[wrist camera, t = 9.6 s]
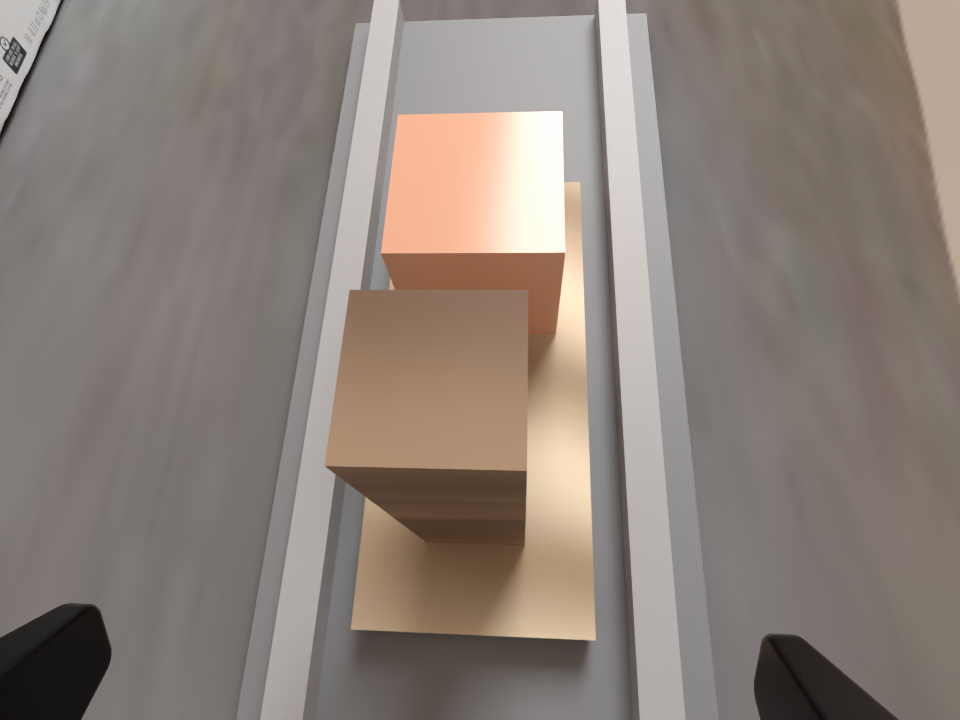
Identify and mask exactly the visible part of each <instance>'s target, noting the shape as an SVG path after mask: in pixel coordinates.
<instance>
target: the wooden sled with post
mask: <svg viewBox="0 0 960 720" xmlns="http://www.w3.org/2000/svg"><path fill="white" fill-rule="evenodd" d="M564 209H565V260H564V269H563V278H562V286H561V295H560V303H559V312H558V320H557V329H556V334H528V290H395V288H394V285H393V283H392V280H391V278H390V286H389V290H349V297H348V304H347V311H346V319H345V326H344V333H343V340H342V347H341V354H340V361H339V368H338V375H337V382H336V389H335V396H334V403H333V410H332V417H331V424H330V431H329V438H328V445H327V452H326V459H325V467H326V468H328V469H329V470H330V471H332V472H333V473H334V474H336V475H337V476H338V477H340V478H341V479H342V480H344V481H345V482H346V483H348V484H349V485H350V486H352V487H353V488H354V489H356V490H357V491H358V492H360V493H361V494H362V495H364V496H365V497H366V498H365V507H364V516H363V525H362V534H361V543H360V552H359V560H358V569H357V578H356V587H355V596H354V605H353V614H352V623H351V630H372V631H395V632H417V633H439V634H462V635H484V636H506V637H529V638H551V639H573V640H596V631H595V601H594V572H593V543H592V514H591V485H590V455H589V426H588V397H587V368H586V338H585V309H584V280H583V251H582V222H581V192H580V182H564Z"/></svg>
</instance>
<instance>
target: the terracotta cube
mask: <svg viewBox="0 0 960 720" xmlns="http://www.w3.org/2000/svg"><path fill="white" fill-rule="evenodd" d="M381 255H382V257H383V260H384V262H385V265H386V268H387V270H388V273H389V275H390V278H391V280H392V283H393V285H394V288H395V290H528V334H556V329H557V320H558V312H559V303H560V295H561V286H562V278H563V269H564V260H565V209H564V161H563V113H562V111H541V112H496V113H452V114H408V115H398V118H397V126H396V134H395V142H394V151H393V159H392V167H391V175H390V183H389V191H388V200H387V208H386V216H385V224H384V232H383V241H382V249H381Z"/></svg>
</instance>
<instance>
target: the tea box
mask: <svg viewBox="0 0 960 720" xmlns="http://www.w3.org/2000/svg"><path fill="white" fill-rule="evenodd" d="M60 2H61V0H0V134H1V131H2V128H3V125H4V122H5V120H6V119H7V117H8V115H9V113H10V111H11V109H12V106H13V104H14V102H15V100H16V98H17V95H18V92H19V89H20V87H21V85H22V83H23V81H24V79H25V76H26V75H27V74H28V72H29V70H30V68H31V66H32V63H33V61H34V59H35V57H36V54H37V52H38V49H39V46H40V44H41V42H42V39H43V37H44V35H45V33H46V32H47V30H48V29H49V27H50V25H51V23H52V21H53V18H54V16H55V14H56V11H57V8H58V6H59V4H60Z"/></svg>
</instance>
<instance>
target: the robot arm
mask: <svg viewBox="0 0 960 720" xmlns="http://www.w3.org/2000/svg"><path fill="white" fill-rule="evenodd" d="M110 660H111V645H110V641H109V638H108V635H107V631H106V628H105V625H104V621H103V618H102V615H101V612H100V610H99V609H98V608H97V607H96V606H95V605H92V604H79V603H68V604H63V605H61V606H59V607H57V608H55V609H53V610H51V611H49V612H47V613H45V614H44V615H42V616H40V617H38V618H36V619H34V620H32V621H31V622H29V623H27V624H25V625H23V626H21V627H19V628H18V629H16V630H14V631H12V632H10V633H8V634H6V635H4V636H3V637H1V638H0V720H81V719H82V717H83V715H84V713H85V711H86V709H87V707H88V705H89V703H90V701H91V700H92V698H93V696H94V694H95V692H96V690H97V688H98V686H99V684H100V682H101V680H102V679H103V677H104V675H105V673H106V671H107V669H108V666H109V663H110ZM754 694H755V700H756V704H757V708H758V712H759V716H760V719H761V720H899V719H897V718H896V717H895V716H894V715H893V714H891V713H890V712H889V711H888V710H887V709H886V708H884V707H883V706H882V705H881V704H880V703H878V702H877V701H876V700H875V699H874V698H873V697H871V696H870V695H869V694H868V693H867V692H866V691H864V690H863V689H862V688H861V687H860V686H858V685H857V684H856V683H855V682H854V681H853V680H851V679H850V678H849V677H848V676H847V675H845V674H844V673H843V672H842V671H841V670H840V669H838V668H837V667H836V666H835V665H834V664H832V663H831V662H830V661H829V660H828V659H827V658H825V657H824V656H823V655H822V654H821V653H820V652H818V651H817V650H816V649H815V648H814V647H812V646H811V645H810V644H809V643H808V642H807V641H805V640H804V639H803V638H801V637H799V636H796V635H786V634H768V635H766V636H764V638H763V639H762V642H761V647H760V652H759V658H758V663H757V668H756V674H755V679H754Z"/></svg>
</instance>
